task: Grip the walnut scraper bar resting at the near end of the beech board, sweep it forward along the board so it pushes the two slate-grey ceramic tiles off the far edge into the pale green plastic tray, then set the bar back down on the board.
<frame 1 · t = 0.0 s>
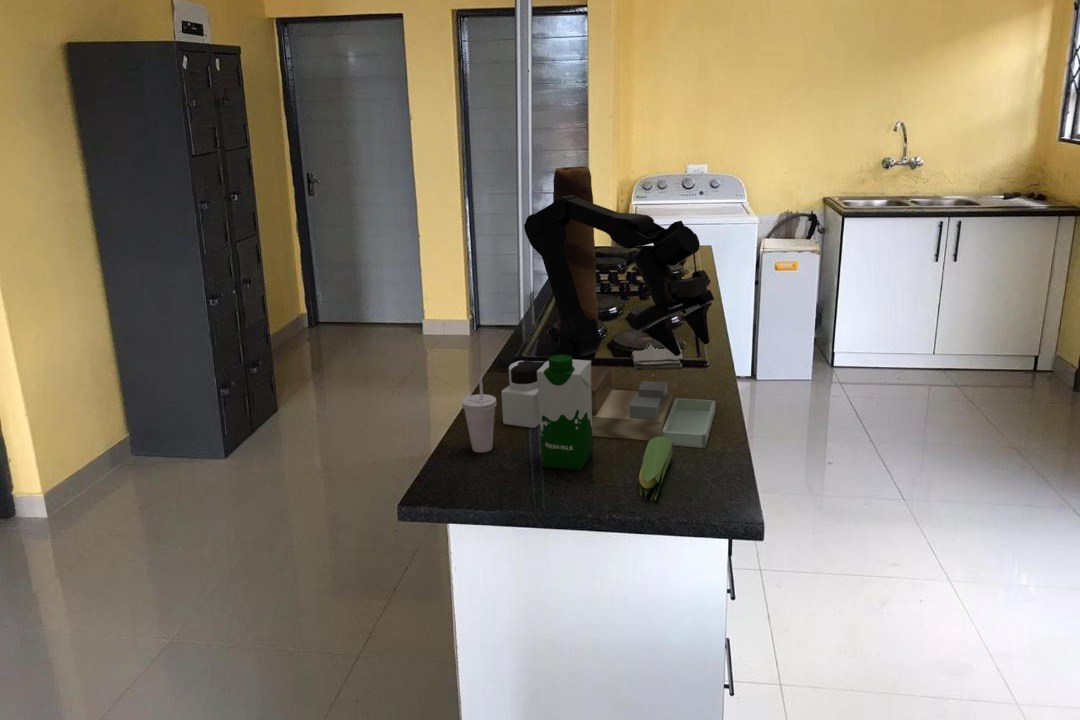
hand: (693, 349, 165), 15 cm above the worktop, tool tilted 35°, fingers open, 9 cm apart
tile b: (645, 414, 164), point 4 cm above the worktop, touching board
washcloth: (655, 360, 209), on the worktop
milk carton: (567, 461, 155), on the worktop
board: (624, 423, 170), on the worktop
tray: (689, 427, 167), on the worktop
smoothie: (482, 449, 162), on the worktop
tile a: (653, 397, 172), point 4 cm above the worktop, touching board
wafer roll: (578, 350, 217), on the worktop
medicine bottle: (526, 421, 174), on the worktop
edible corn: (653, 480, 147), on the worktop
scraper: (593, 402, 171), point 4 cm above the worktop, touching board
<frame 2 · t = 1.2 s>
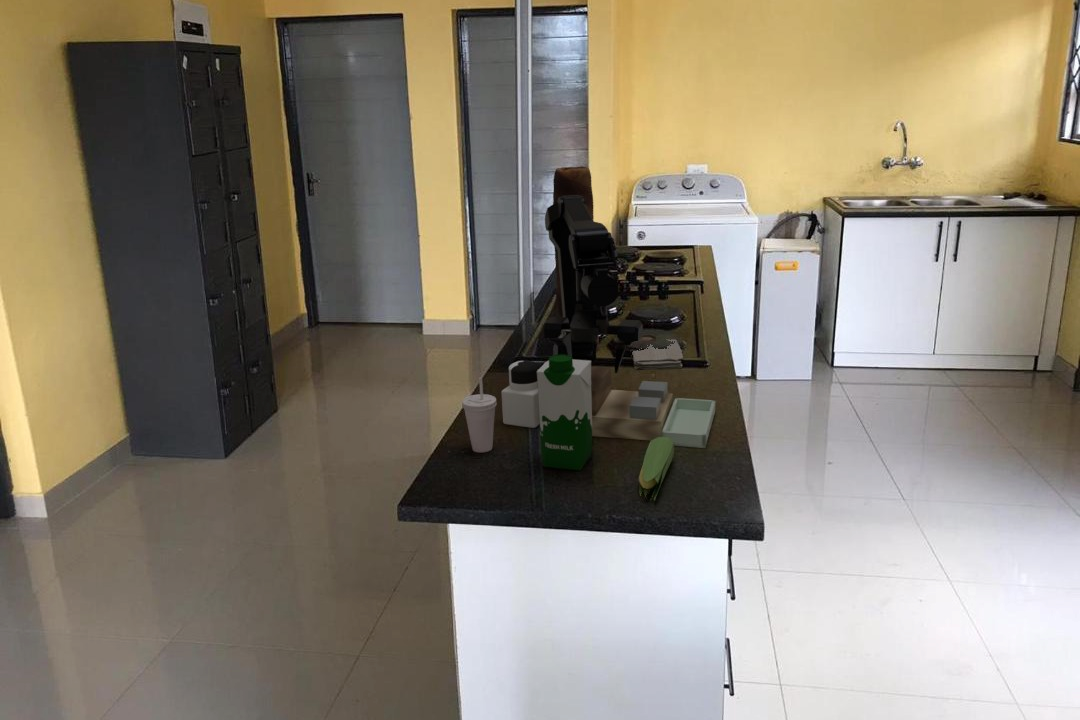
hand: (593, 371, 169), 10 cm above the worktop, tool pointing down, fingers open, 9 cm apart
nothing on the worktop moved.
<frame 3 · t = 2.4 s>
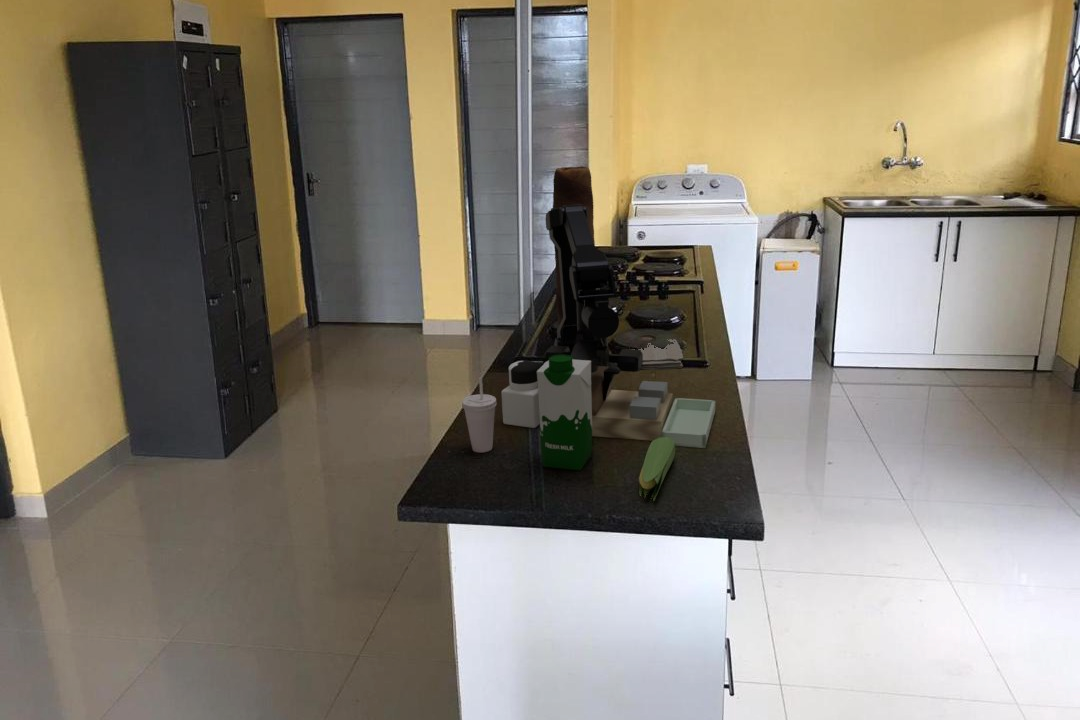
hand: (593, 399, 171), 5 cm above the worktop, tool pointing down, fingers closed on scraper, 4 cm apart
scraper: (593, 402, 171), point 4 cm above the worktop, touching board, gripper
everything else where it was.
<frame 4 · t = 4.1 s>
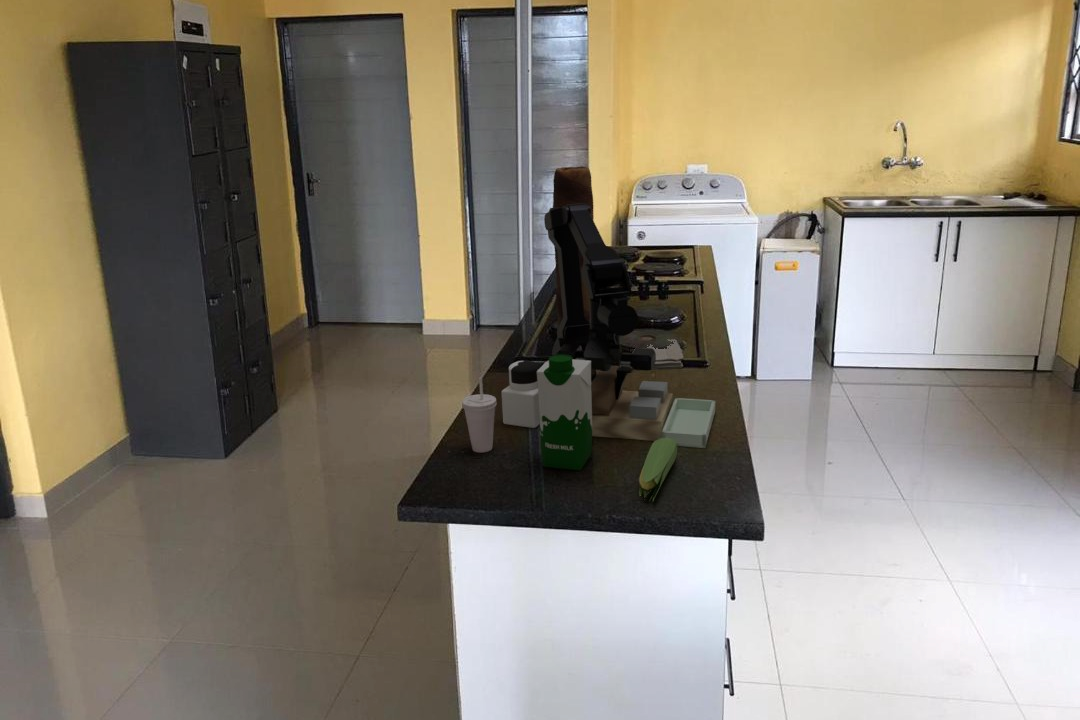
hand: (606, 398, 170), 5 cm above the worktop, tool pointing down, fingers closed on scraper, 4 cm apart
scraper: (606, 401, 170), point 4 cm above the worktop, touching gripper
everything else where it was.
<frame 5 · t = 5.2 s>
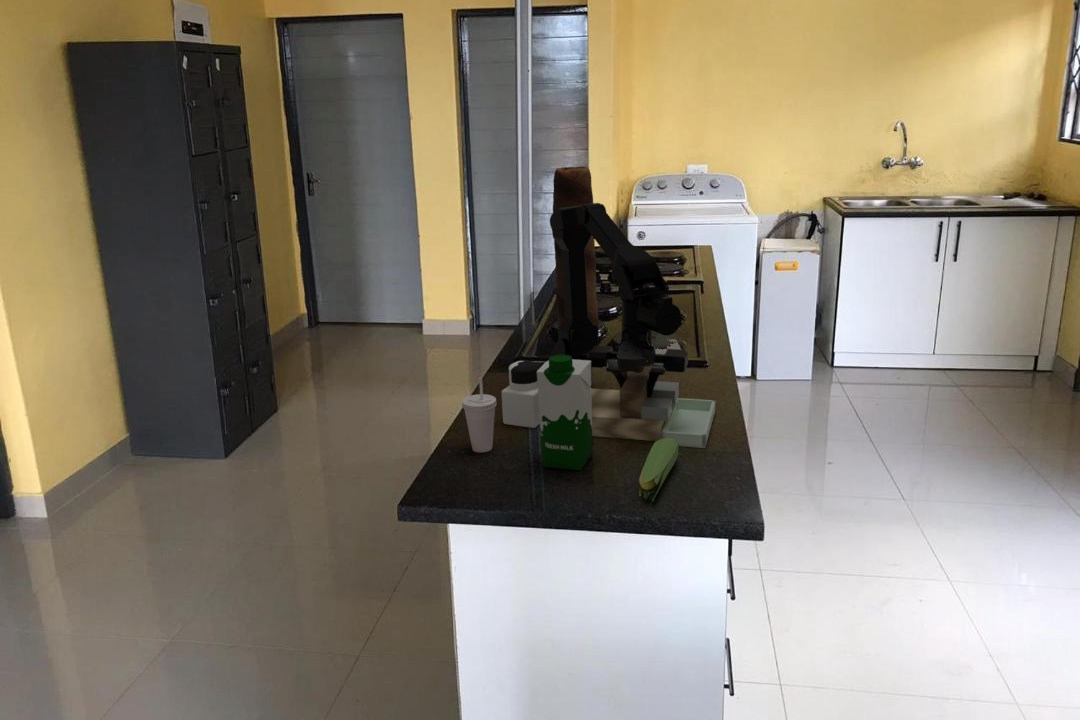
hand: (637, 400, 168), 5 cm above the worktop, tool pointing down, fingers closed on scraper, 4 cm apart
tile b: (656, 415, 163), point 4 cm above the worktop, touching board, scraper
tile a: (664, 398, 171), point 4 cm above the worktop, touching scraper
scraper: (637, 402, 168), point 4 cm above the worktop, touching gripper, tile a, tile b
everything else where it was.
when the fingers open (5 cm above the worktop, at t = 8.7 s): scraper stays where it is, resting on board.
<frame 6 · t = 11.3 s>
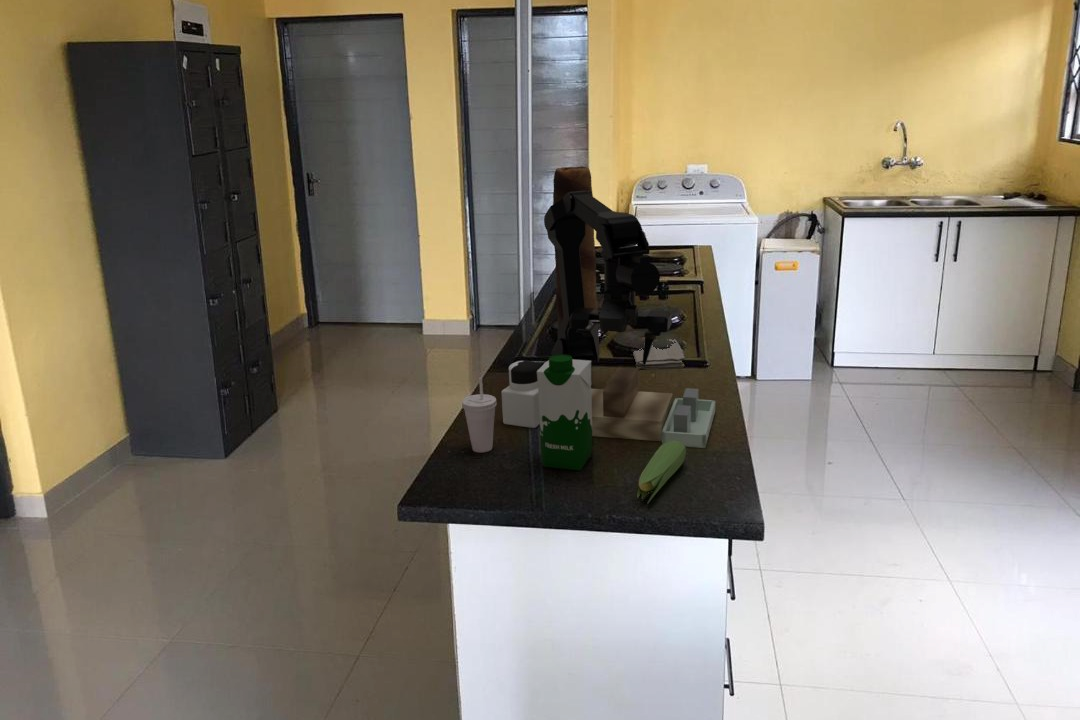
hand: (620, 362, 167), 12 cm above the worktop, tool pointing down, fingers open, 9 cm apart
tile b: (675, 422, 162), point 3 cm above the worktop, tilted 90°, touching tray
tile a: (684, 404, 171), point 3 cm above the worktop, tilted 90°, touching tray
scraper: (621, 403, 169), point 4 cm above the worktop, touching board
at the end: tile a inside the target area on the tray (5.0 cm from its centre), point 2.9 cm above the tray's base; tile b inside the target area on the tray (5.1 cm from its centre), point 2.9 cm above the tray's base; the gripper is holding nothing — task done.
